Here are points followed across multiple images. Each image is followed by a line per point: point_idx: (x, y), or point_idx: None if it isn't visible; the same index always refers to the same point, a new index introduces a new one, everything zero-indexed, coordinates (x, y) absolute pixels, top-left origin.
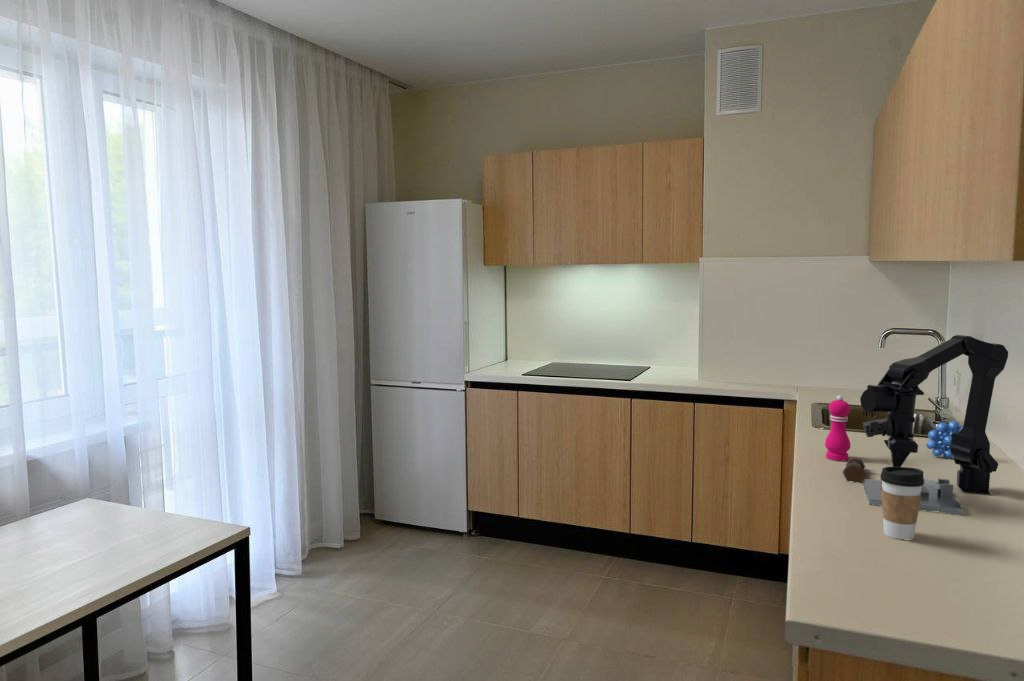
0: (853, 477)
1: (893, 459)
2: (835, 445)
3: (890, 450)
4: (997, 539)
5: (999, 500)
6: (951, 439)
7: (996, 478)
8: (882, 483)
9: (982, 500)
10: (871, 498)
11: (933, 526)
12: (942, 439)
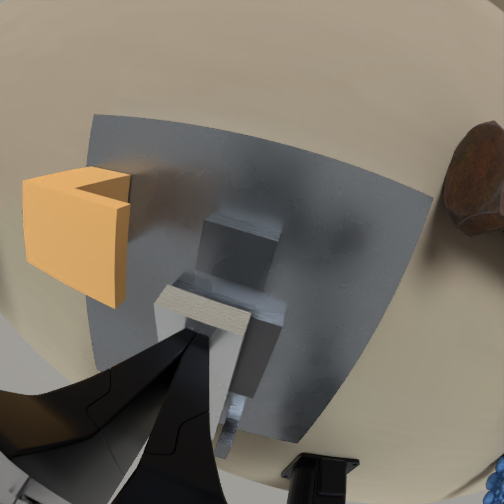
0: (463, 164)
1: (114, 370)
2: None
3: (192, 461)
4: (21, 323)
5: (247, 468)
6: (502, 489)
7: (387, 494)
8: (79, 182)
9: (240, 452)
10: (97, 122)
11: (20, 246)
12: None
